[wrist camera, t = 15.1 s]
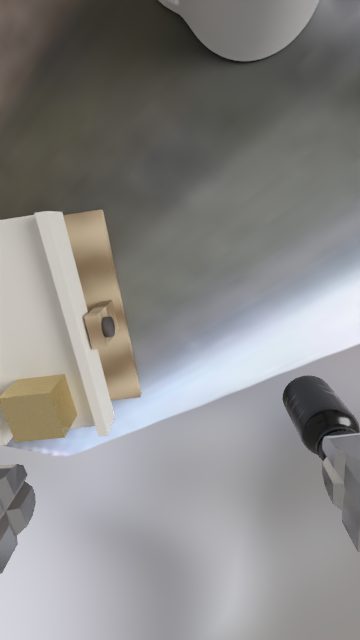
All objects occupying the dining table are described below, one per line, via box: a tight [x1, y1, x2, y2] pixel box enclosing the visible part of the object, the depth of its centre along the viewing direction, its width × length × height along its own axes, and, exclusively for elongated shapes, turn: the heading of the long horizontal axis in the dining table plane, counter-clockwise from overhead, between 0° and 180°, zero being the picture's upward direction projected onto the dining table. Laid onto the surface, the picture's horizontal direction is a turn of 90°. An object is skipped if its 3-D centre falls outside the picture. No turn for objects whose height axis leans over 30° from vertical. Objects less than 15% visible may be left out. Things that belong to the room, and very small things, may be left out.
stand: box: [63, 210, 141, 400], centre depth 36 cm, size 26×20×8 cm
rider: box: [0, 374, 77, 442], centre depth 34 cm, size 6×6×4 cm
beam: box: [0, 211, 115, 445], centre depth 33 cm, size 26×14×4 cm, turn 8°
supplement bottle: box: [283, 376, 360, 461], centre depth 37 cm, size 7×7×12 cm
